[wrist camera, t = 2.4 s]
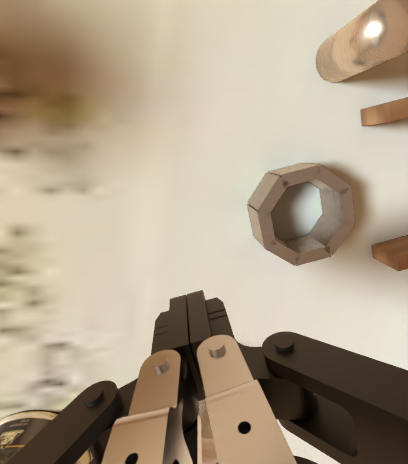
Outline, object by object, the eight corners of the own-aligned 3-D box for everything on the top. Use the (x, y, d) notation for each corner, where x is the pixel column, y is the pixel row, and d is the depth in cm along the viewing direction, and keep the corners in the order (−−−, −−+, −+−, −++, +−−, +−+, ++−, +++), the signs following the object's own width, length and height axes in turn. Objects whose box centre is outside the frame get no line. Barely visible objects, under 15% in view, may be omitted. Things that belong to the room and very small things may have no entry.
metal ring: (241, 178, 22) (251, 182, 19) (326, 156, 22) (348, 156, 20) (258, 258, 24) (269, 273, 21) (336, 237, 24) (357, 249, 21)
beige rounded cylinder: (313, 41, 20) (367, -4, 14) (353, 31, 20) (424, -18, 14) (318, 87, 21) (372, 62, 15) (357, 76, 21) (425, 48, 15)
